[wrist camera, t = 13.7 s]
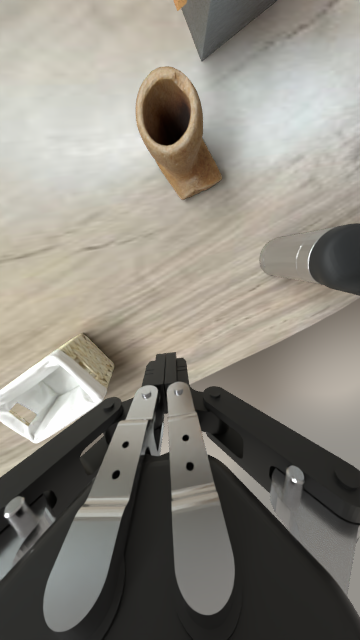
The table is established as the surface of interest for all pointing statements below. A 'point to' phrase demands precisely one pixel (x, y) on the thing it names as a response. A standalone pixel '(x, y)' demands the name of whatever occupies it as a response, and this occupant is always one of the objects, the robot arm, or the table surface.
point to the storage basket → (57, 389)
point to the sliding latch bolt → (180, 3)
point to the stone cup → (175, 131)
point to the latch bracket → (219, 20)
